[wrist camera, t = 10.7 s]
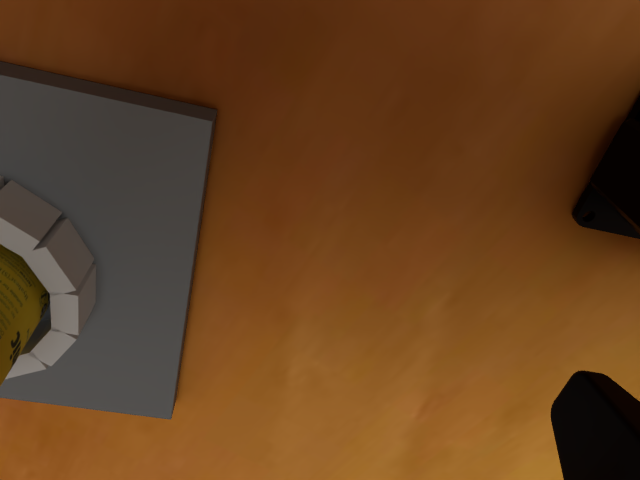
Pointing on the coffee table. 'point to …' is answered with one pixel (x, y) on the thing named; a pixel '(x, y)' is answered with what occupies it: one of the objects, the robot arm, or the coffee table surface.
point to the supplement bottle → (18, 307)
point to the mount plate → (102, 236)
